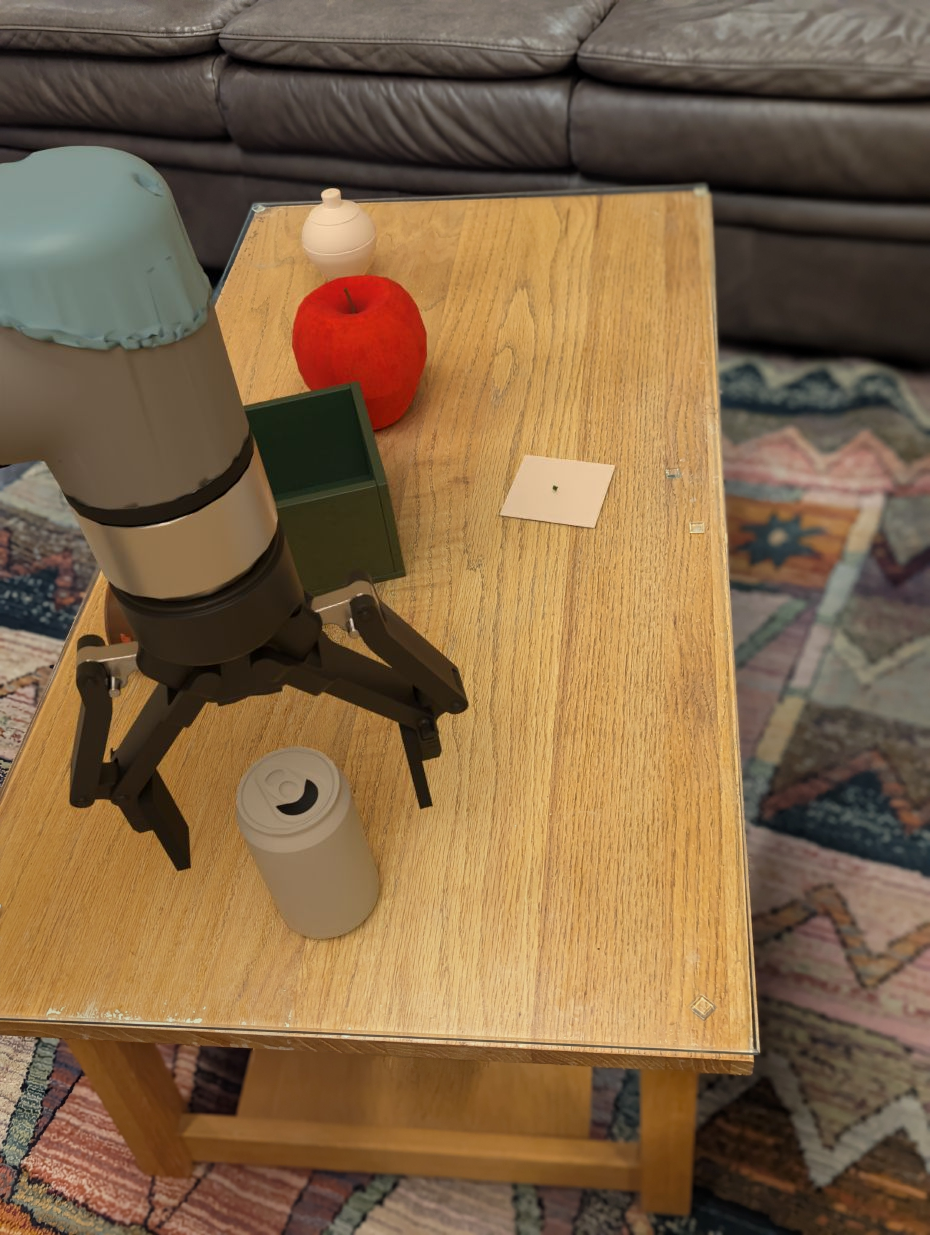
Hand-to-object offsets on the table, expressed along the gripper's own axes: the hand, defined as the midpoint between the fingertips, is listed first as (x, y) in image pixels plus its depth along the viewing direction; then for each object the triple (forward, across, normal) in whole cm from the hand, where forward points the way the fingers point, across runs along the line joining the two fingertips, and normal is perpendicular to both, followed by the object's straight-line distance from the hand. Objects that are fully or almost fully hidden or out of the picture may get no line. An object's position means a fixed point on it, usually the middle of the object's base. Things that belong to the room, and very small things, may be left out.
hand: (303, 818), depth 60 cm
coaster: (+9, -24, -32) cm, 41 cm away
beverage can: (+9, 0, 0) cm, 9 cm away
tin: (+9, +9, -28) cm, 31 cm away
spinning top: (+9, -12, -69) cm, 71 cm away
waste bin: (+9, -3, -33) cm, 34 cm away
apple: (+9, -11, -48) cm, 50 cm away
